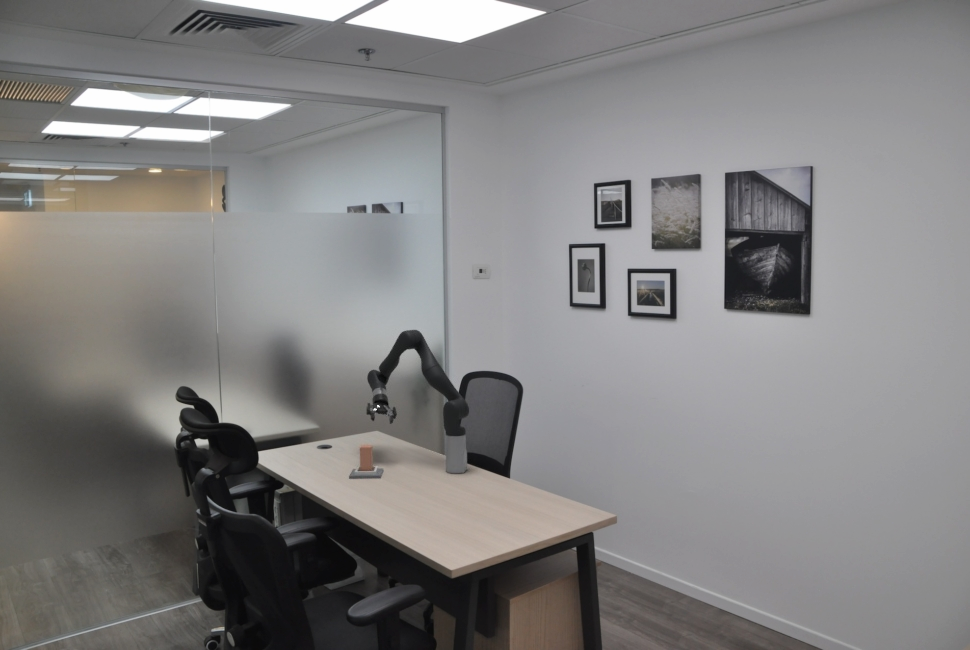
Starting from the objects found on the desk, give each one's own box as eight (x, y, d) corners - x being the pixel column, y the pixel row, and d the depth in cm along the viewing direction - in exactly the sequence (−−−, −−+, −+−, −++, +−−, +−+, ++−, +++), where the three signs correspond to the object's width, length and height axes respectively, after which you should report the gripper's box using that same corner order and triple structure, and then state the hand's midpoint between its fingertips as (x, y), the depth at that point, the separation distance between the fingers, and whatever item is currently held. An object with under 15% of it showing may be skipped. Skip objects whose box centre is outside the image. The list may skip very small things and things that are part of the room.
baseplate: (383, 470, 336) (383, 465, 336) (380, 478, 324) (380, 472, 324) (353, 471, 336) (353, 465, 336) (349, 478, 324) (349, 472, 324)
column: (372, 470, 333) (372, 444, 332) (371, 473, 328) (371, 447, 327) (361, 470, 333) (361, 444, 332) (360, 473, 328) (359, 447, 327)
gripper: (367, 390, 349) (369, 412, 336) (396, 395, 354) (399, 417, 341) (363, 402, 352) (365, 424, 339) (392, 407, 357) (394, 429, 344)
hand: (382, 421), depth 340 cm, fingers open, 8 cm apart
